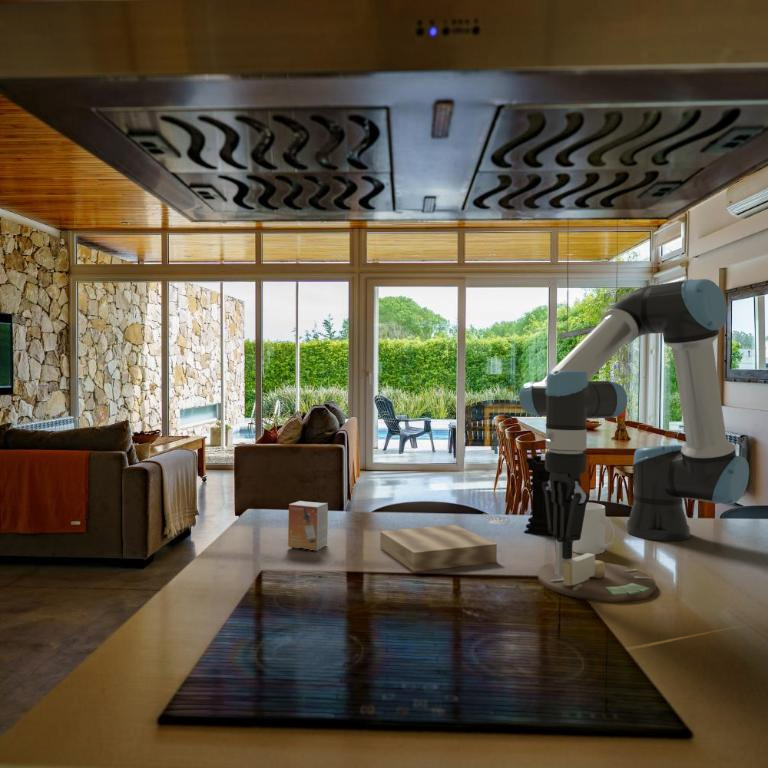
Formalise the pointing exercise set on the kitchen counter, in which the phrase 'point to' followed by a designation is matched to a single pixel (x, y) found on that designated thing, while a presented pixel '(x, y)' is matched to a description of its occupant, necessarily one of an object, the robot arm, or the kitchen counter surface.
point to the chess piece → (538, 498)
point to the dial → (602, 584)
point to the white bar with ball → (582, 569)
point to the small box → (308, 525)
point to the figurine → (496, 520)
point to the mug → (593, 531)
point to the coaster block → (437, 547)
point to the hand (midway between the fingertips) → (563, 573)
